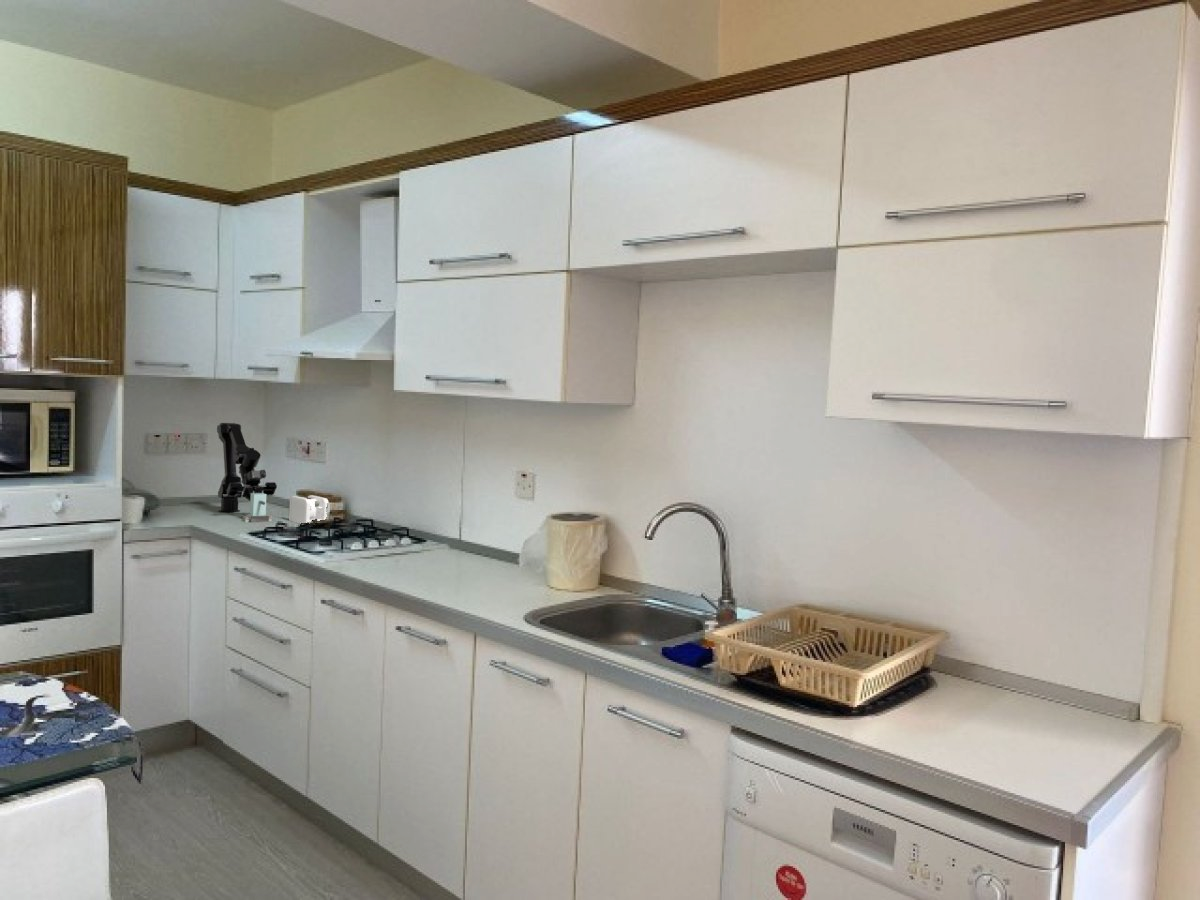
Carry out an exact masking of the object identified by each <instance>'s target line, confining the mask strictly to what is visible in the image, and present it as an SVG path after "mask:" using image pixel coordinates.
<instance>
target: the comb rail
mask: <svg viewBox="0 0 1200 900" xmlns="http://www.w3.org/2000/svg"><path fill="white" fill-rule="evenodd" d="M249 518H250V516H242V521H243V522H244V523H247V522H250V523H266V522H267V523H268V522H272V518H273V516H272V515H266V516H251V519H250V521H249Z"/></svg>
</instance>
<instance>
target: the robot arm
mask: <svg viewBox="0 0 1200 900" xmlns="http://www.w3.org/2000/svg"><path fill="white" fill-rule="evenodd" d="M216 432H217V434H218V439H219V440H220V442H221V443H222V447H223V449H222V450H223V461H224V462H223V465H224V466H223V467H224V477H223V478H222V480H221V483H220V486H219V489H218V492H217V497H218V498H220V499H221V501H220V503H221V505H220V509H218V512H222V511H224V512H223V513H235V512H234V511H237V512H240V511H241V509H239V499H240V498H245V499H247V500H248V501H249V502H250V497H251V493H264V494H266V496H273V495H274V494H275V493H276V490H277V483H276V482H275V481H272V482H271V481H268V482H267V481H265V483H264V484H263V485H261V480H263V479H265V478H266V477H267V472H266V470H265V469H260V470H255V468H256V467H257V466H258V464H259V461H260V459H261V453H260V452H259V451H258V450H255V448H254V447H249V446H247V443H246V442H245V441H246V440H245V439H244V436H243V432H242V426H241V424H239V423H235V422H220V423H219V424H217V426H216ZM237 465H239V467H238V469H239V470H238V474H240V476H238V474H237Z"/></svg>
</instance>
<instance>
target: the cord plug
mask: <svg viewBox="0 0 1200 900" xmlns="http://www.w3.org/2000/svg"><path fill="white" fill-rule="evenodd" d="M249 506H250V507H249V522H250V519H251V516H266V514H267V495H266V494H264V493H263V492H262V493H254V492H253V493H251V497H250V501H249Z"/></svg>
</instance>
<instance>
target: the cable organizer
mask: <svg viewBox="0 0 1200 900" xmlns="http://www.w3.org/2000/svg"><path fill="white" fill-rule="evenodd" d="M307 497H308V498H311V499H307ZM307 497H306V498H305V497H302V496H297V495H291V496H290V497H289V515H288V519H289V522H294V523H296V524H300V525H302V524H301V523H307V522H309V523H310V522H311V523H312V522H313V521H312V520H315V519H317V521H320V520H325V519H326V517H327V514H326V513H327V512H326V507H327V503H330V502H329V500H328V498H326V497H322V496H319V495H311V494H310V495H308V496H307ZM315 501H319V502H320V505H319V506H318V507H317V508H316V507H315Z"/></svg>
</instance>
